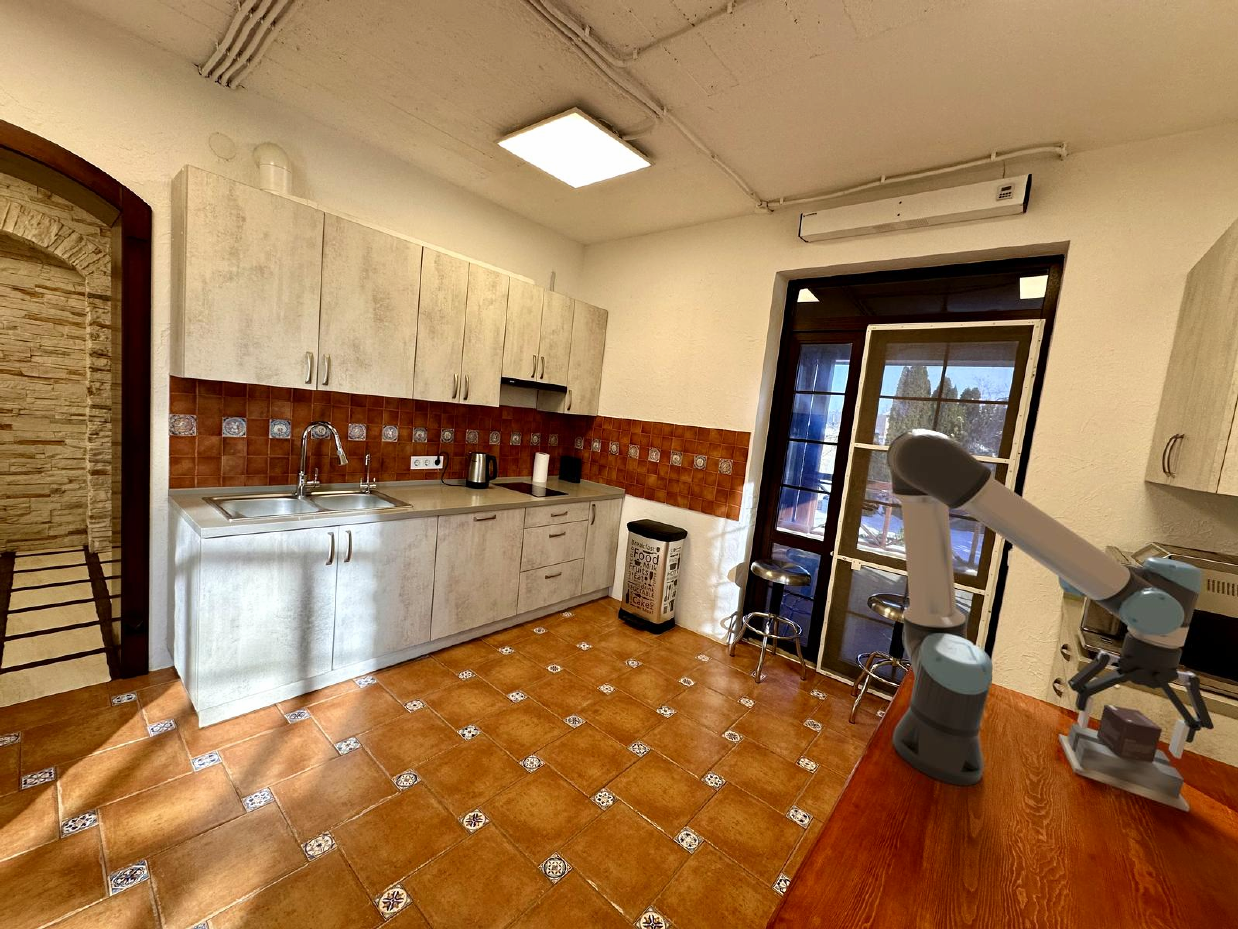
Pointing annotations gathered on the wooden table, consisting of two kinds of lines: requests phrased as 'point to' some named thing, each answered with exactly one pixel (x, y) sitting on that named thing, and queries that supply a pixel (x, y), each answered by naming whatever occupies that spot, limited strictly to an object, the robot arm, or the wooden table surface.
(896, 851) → the wooden table surface
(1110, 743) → the box
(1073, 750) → the stand
